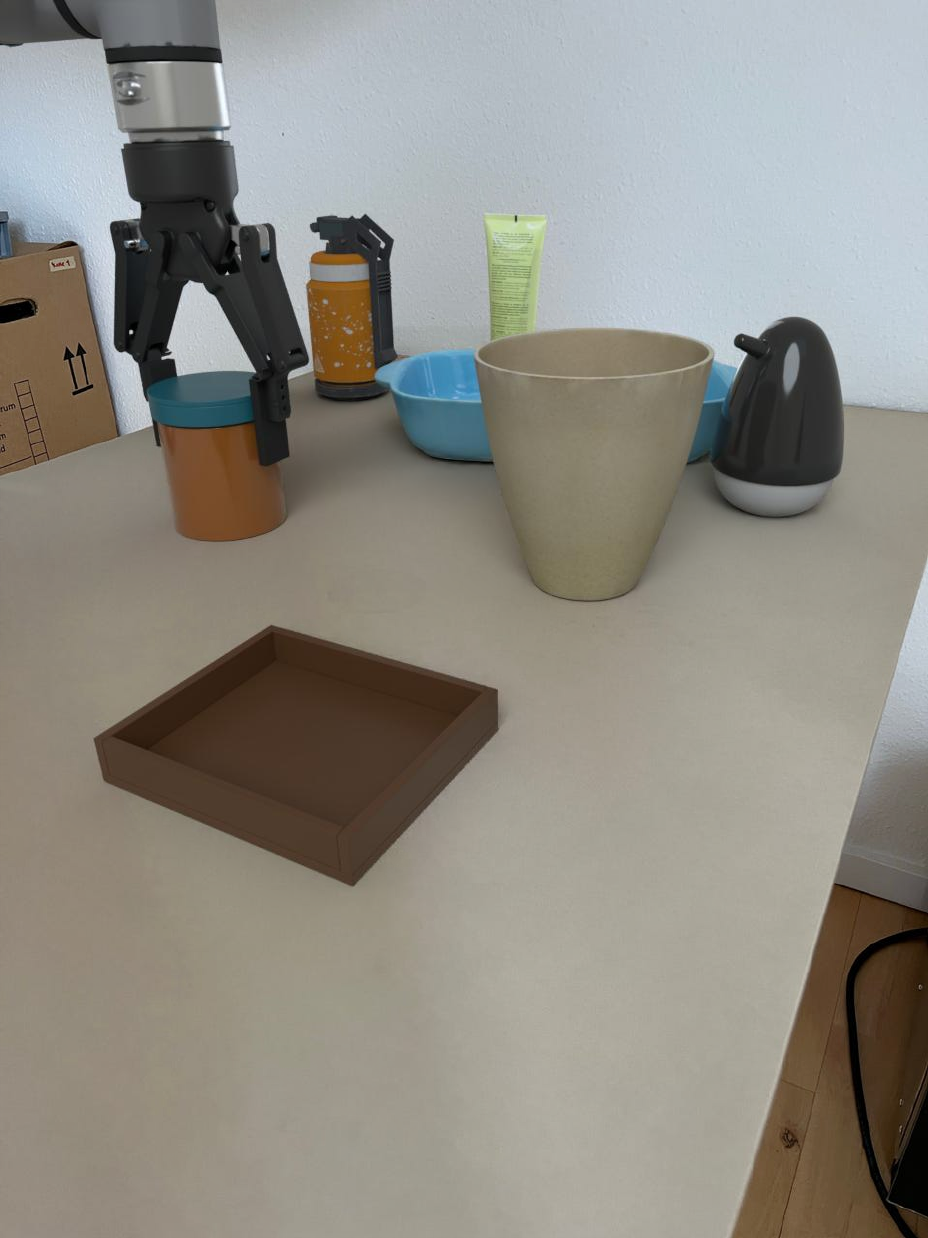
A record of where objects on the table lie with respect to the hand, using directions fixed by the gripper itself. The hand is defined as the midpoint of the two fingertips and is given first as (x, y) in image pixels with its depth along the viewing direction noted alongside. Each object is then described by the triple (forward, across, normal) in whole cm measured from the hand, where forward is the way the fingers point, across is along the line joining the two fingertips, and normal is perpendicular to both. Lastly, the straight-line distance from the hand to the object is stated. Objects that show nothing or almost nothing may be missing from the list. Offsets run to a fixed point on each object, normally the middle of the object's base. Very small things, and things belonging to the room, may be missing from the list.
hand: (221, 451), depth 75 cm
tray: (+6, +26, -23) cm, 35 cm away
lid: (-5, 0, 0) cm, 5 cm away
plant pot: (+6, +30, +3) cm, 31 cm away
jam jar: (+6, 0, 0) cm, 6 cm away
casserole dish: (+6, +15, +32) cm, 36 cm away
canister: (+6, -14, +38) cm, 41 cm away
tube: (+6, +1, +49) cm, 49 cm away
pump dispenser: (+6, +38, +23) cm, 45 cm away
